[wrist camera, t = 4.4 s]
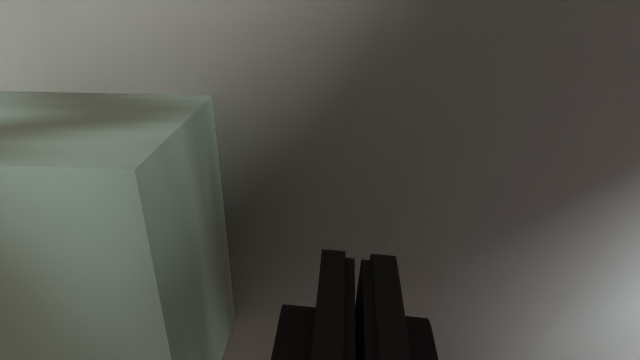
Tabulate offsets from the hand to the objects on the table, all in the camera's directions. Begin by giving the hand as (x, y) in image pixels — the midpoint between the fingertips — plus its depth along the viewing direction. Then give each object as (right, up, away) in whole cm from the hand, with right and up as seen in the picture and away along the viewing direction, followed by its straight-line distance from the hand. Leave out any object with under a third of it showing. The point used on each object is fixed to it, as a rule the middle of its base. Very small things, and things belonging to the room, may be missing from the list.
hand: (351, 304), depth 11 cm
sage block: (-7, +2, +2) cm, 7 cm away
